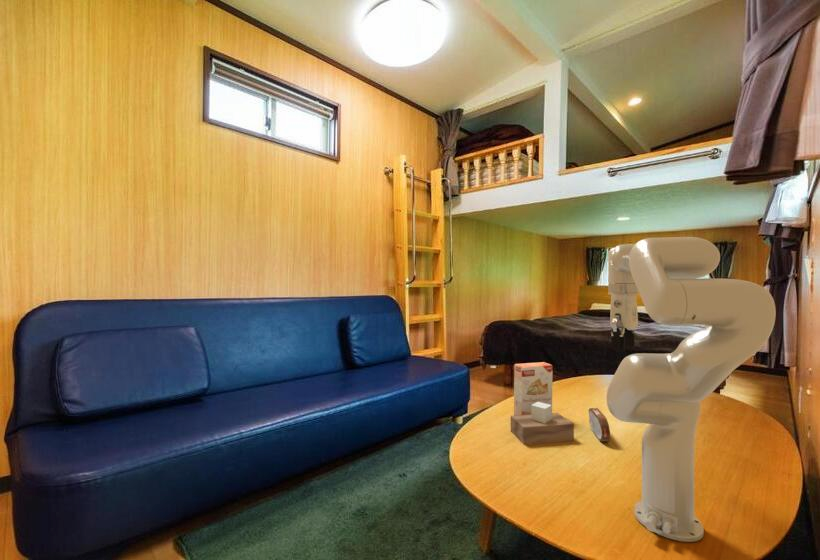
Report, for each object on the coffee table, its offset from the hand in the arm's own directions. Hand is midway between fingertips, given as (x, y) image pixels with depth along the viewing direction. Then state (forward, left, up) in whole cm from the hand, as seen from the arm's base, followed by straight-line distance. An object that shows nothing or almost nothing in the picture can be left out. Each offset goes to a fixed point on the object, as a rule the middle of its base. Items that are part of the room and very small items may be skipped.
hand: (623, 348), depth 103 cm
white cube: (+2, +26, -29) cm, 39 cm away
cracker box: (+16, +36, -34) cm, 52 cm away
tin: (+16, +12, -35) cm, 40 cm away
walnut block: (+2, +26, -35) cm, 43 cm away
